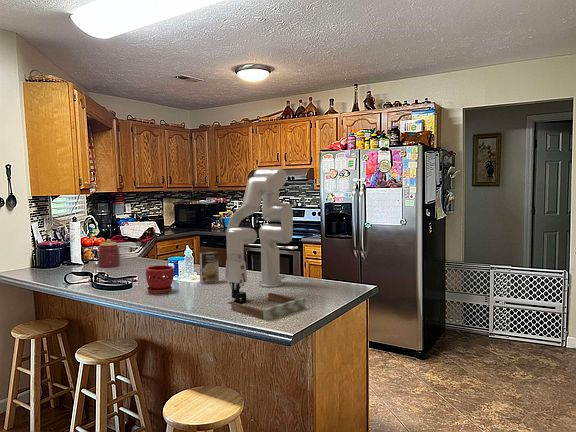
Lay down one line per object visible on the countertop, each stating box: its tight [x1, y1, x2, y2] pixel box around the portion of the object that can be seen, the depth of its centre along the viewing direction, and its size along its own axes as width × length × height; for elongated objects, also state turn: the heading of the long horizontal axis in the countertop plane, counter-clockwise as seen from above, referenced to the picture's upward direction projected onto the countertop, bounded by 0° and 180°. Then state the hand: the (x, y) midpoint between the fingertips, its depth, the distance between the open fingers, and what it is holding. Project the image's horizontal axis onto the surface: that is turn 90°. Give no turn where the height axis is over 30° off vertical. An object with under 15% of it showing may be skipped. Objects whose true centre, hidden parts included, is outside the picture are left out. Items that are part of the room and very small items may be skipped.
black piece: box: [228, 291, 255, 305], centre depth 191 cm, size 12×7×5 cm, turn 139°
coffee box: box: [199, 251, 220, 285], centre depth 230 cm, size 9×6×16 cm
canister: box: [97, 238, 121, 269], centre depth 278 cm, size 13×13×18 cm
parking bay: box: [230, 292, 306, 321], centre depth 180 cm, size 23×20×4 cm
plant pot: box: [145, 264, 175, 294], centre depth 210 cm, size 13×13×12 cm
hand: (235, 297), depth 194 cm, fingers closed
